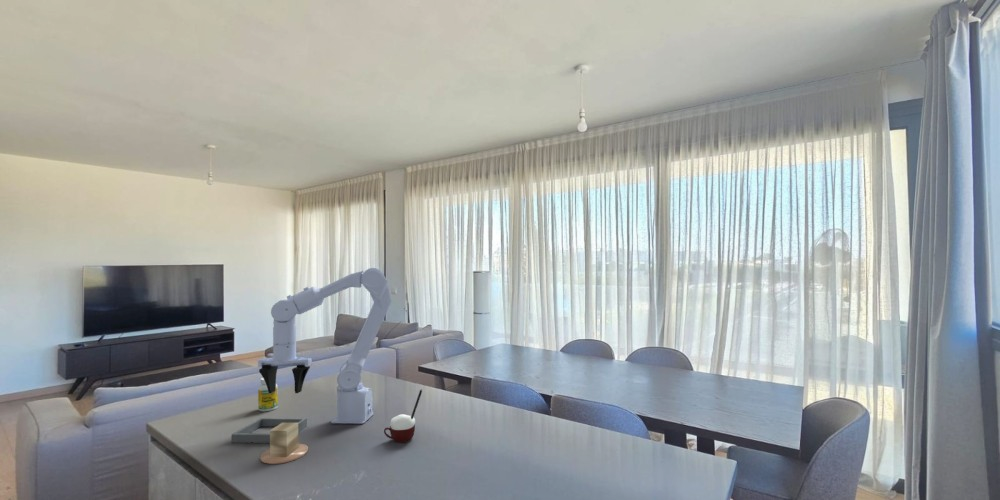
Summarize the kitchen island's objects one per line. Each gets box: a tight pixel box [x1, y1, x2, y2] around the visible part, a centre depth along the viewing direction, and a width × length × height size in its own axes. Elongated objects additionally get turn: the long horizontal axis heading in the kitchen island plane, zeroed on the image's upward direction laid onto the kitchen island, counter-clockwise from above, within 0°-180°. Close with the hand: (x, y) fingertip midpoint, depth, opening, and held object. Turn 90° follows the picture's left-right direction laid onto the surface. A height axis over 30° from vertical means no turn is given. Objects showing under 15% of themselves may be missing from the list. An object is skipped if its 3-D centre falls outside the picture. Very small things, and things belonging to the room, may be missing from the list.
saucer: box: [260, 442, 309, 465], centre depth 102 cm, size 10×10×1 cm
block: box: [269, 423, 299, 457], centre depth 102 cm, size 4×5×6 cm
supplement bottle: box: [257, 377, 279, 413], centre depth 135 cm, size 5×5×10 cm
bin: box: [231, 417, 308, 444], centre depth 115 cm, size 14×12×2 cm
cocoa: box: [383, 389, 423, 444], centre depth 109 cm, size 10×6×12 cm, turn 79°
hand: (285, 392), depth 120 cm, fingers open, 7 cm apart
